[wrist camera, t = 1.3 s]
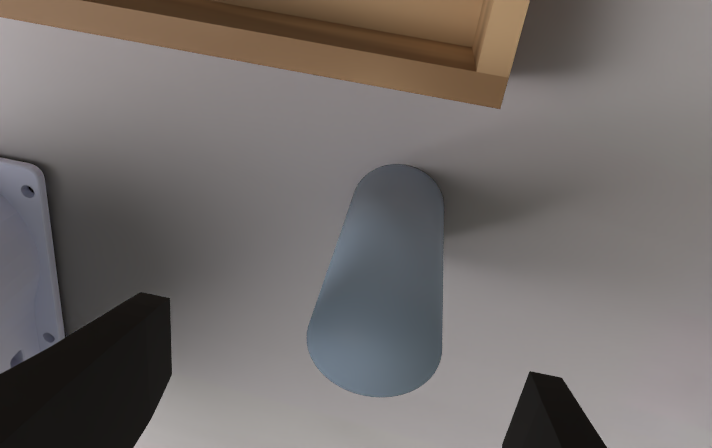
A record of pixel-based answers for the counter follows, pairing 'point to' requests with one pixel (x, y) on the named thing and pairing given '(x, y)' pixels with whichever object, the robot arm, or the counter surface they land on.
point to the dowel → (384, 288)
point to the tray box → (320, 37)
